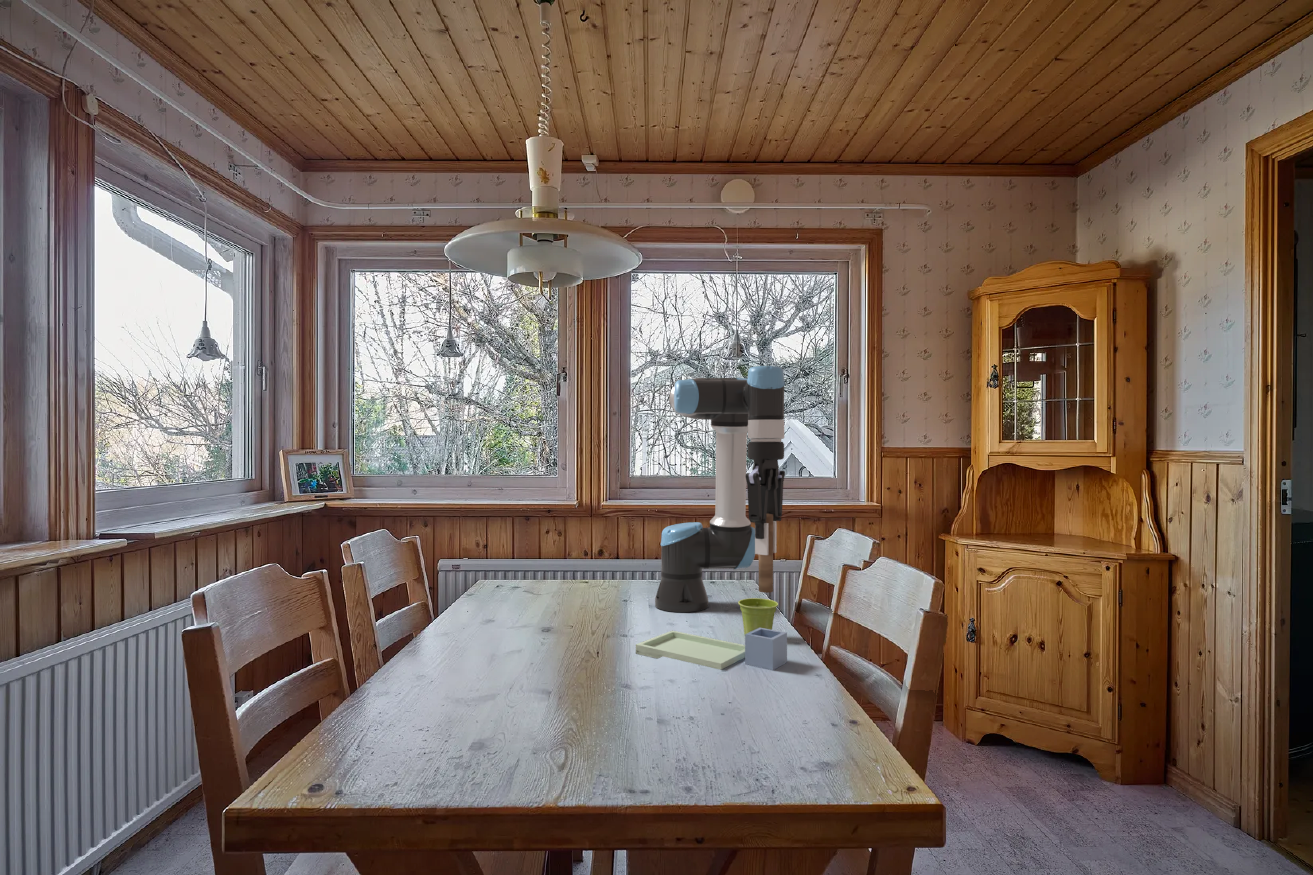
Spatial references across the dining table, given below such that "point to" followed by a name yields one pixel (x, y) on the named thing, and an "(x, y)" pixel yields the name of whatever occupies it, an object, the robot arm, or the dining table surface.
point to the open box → (766, 648)
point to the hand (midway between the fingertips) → (765, 552)
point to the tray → (692, 649)
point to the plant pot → (757, 613)
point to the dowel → (767, 561)
